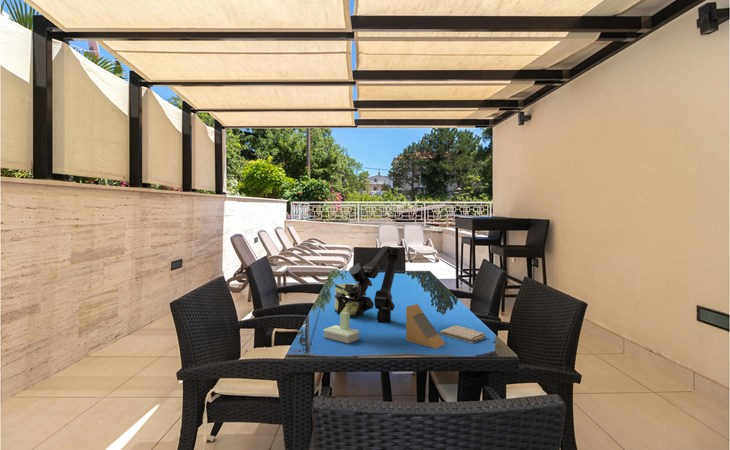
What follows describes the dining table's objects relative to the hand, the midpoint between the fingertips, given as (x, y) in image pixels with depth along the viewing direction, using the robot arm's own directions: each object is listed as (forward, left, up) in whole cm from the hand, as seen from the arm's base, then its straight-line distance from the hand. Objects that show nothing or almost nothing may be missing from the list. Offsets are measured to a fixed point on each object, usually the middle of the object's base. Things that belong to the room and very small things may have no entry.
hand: (345, 316), depth 171 cm
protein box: (+4, -41, -9) cm, 43 cm away
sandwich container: (-35, +3, -10) cm, 36 cm away
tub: (+1, +3, -9) cm, 10 cm away
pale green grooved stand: (+1, +3, -6) cm, 7 cm away
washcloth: (-52, -8, -10) cm, 54 cm away
